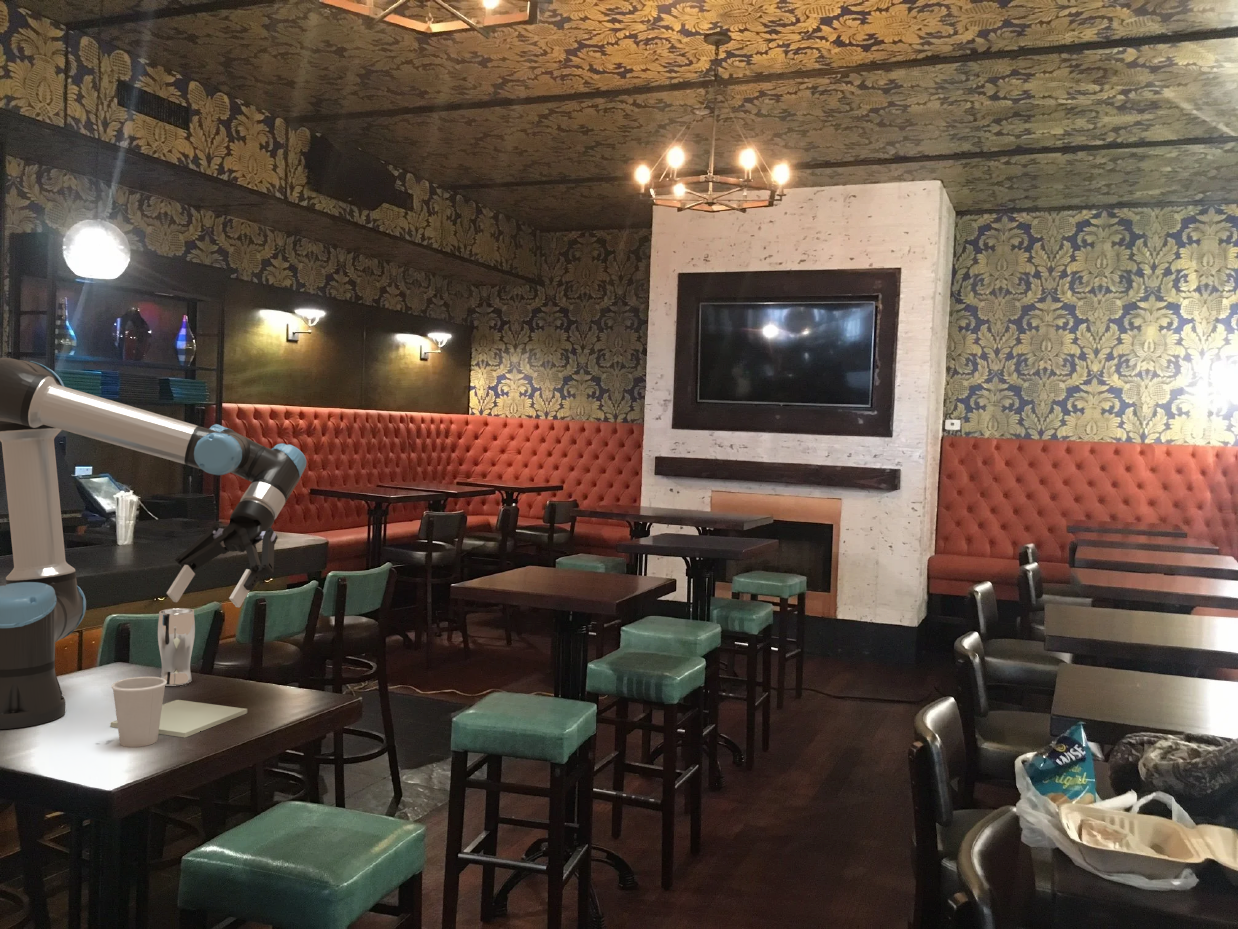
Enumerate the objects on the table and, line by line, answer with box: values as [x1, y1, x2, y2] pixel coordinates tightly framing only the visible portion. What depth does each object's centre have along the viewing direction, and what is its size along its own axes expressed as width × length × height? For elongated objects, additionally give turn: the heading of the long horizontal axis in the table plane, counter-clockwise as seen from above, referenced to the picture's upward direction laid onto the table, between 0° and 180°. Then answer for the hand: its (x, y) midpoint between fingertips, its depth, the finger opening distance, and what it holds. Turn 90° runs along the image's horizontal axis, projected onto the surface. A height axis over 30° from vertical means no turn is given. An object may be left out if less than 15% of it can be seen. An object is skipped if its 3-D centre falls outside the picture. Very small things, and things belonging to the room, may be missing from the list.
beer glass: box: [157, 607, 196, 686], centre depth 203 cm, size 7×7×15 cm
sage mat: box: [109, 699, 248, 738], centre depth 179 cm, size 16×16×1 cm
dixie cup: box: [111, 676, 167, 748], centre depth 166 cm, size 8×8×10 cm
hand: (202, 600), depth 178 cm, fingers open, 13 cm apart
